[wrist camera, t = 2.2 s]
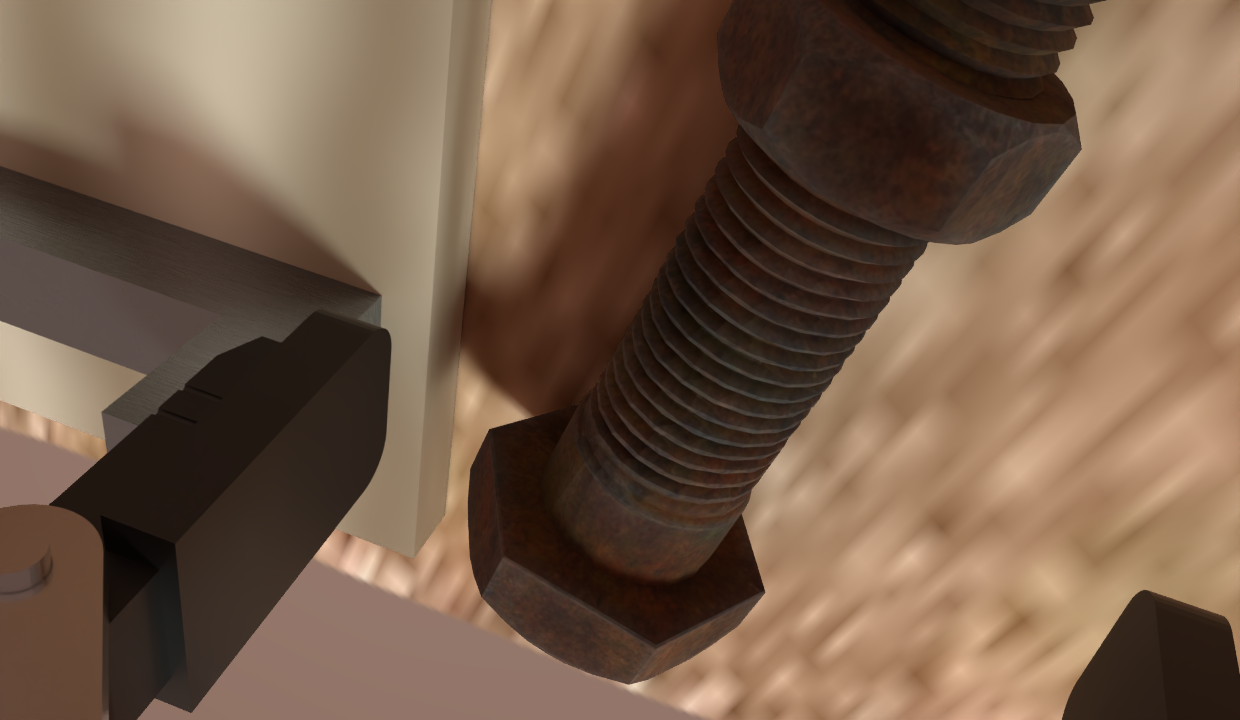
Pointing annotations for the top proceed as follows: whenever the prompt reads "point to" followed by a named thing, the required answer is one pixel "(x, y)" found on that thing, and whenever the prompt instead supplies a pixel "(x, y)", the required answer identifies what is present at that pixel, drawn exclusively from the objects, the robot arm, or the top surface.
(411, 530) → the collar board
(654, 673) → the bolt
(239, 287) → the grey notched cradle
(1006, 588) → the top surface
